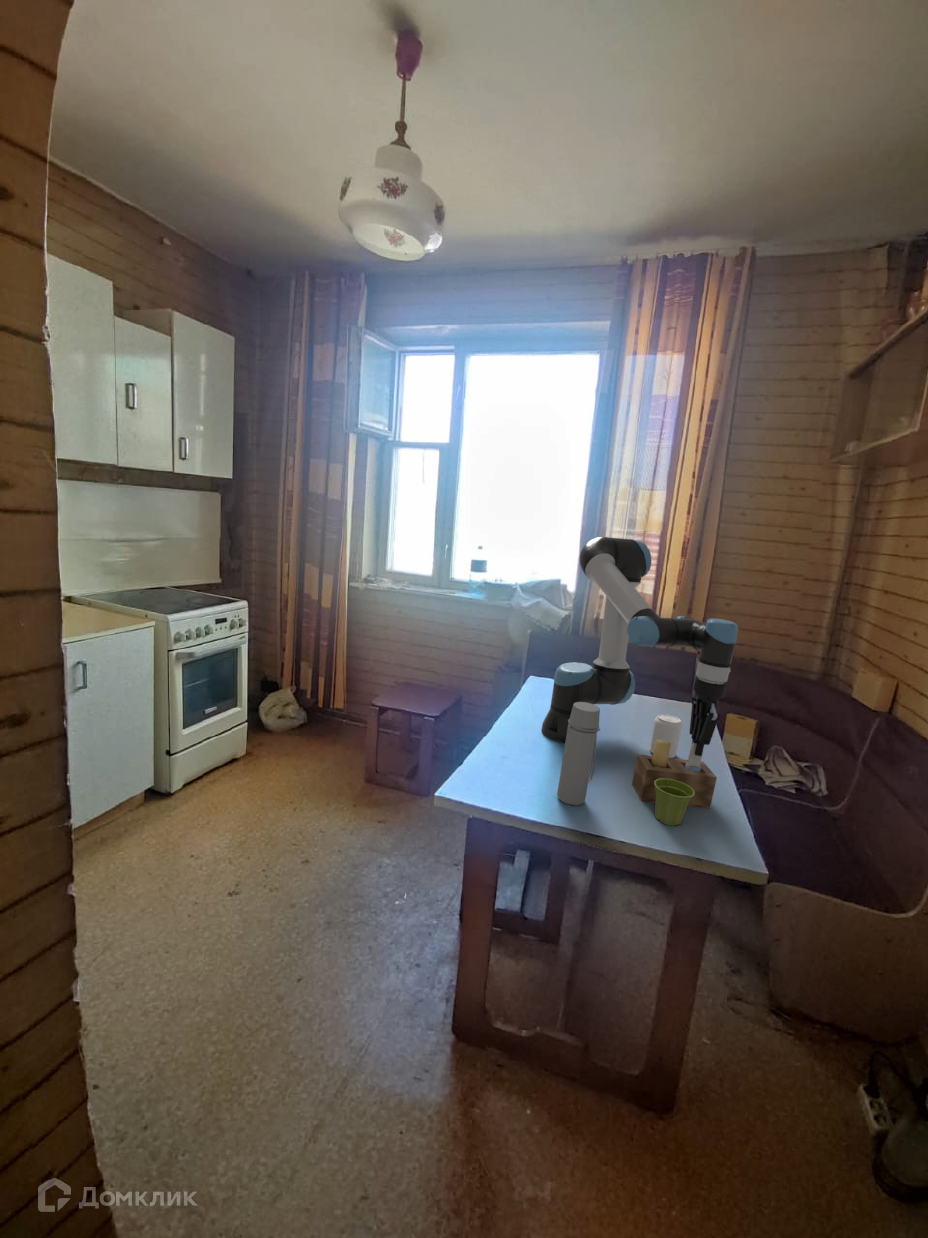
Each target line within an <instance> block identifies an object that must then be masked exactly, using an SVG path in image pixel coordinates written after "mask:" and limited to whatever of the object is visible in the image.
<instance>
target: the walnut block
mask: <svg viewBox="0 0 928 1238" xmlns="http://www.w3.org/2000/svg"><path fill="white" fill-rule="evenodd" d="M652 757H653V755H647V754H637V755H636V760H635V766H634V769H633V770H634V771H633V776H632V781H631V785H632V787H633V790H634V791H635V793H636V794H637V796H638V798H639V800H640V802H642V803H643V802H646V803H652V804H653V803H654V804H656V790H655V785H654V781H655V780H657V779H660V778H668V779H673V780H677V781H680V782H683V783H685V784H687V785H689V786H690V787H691V788H692V789H693V790H694V791H695V795H694V796H693V797H692V798H691V800H690V801H689V803H688V806H687V808H697V809H707V810H710V809H711V806H712V801H713V796H714V793H715V792H714V791H715V788H716V783H717V776H716V775H715V774H714V772H713V771H712V770H711V769H710V767H708V765H707V764H706V763H705V762H704V761H701V763H700V766H701V770H700V772H695V771H687V770H686V769H685V765H686V763H687V762H688V759H682V758H676V757H673V758H668V761H667V766H666V768H660V767H652V765H651V762H652Z"/></svg>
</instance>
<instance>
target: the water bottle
mask: <svg viewBox="0 0 928 1238" xmlns="http://www.w3.org/2000/svg"><path fill="white" fill-rule="evenodd" d="M600 709H601V708H600V707H599V706H598V705H597V704H590V703H586V702H576V703H574V704H573V708H572V711H571V715H570V719H569V720H568V723H569V725H568V729H567V735H566V742H564V748H563V749H564V750H563V755H562V762H561V768H560V776H559V781H558V787H557V793H556V795H557V797H558V799H559V800H560V801H562V802H563V803H565V804H567V805H571V806H580V805H582V804H584V803H585V801H586V797H587V792H588V785H589V782H590V781H592V780H593V777H594V773H595V766H596V765H595V764H596V750H597V749H596V748H597V737H598V736H597V734H598V732H600V730H601V727H600V715H601V711H600Z"/></svg>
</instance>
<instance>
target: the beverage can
mask: <svg viewBox="0 0 928 1238" xmlns="http://www.w3.org/2000/svg"><path fill="white" fill-rule="evenodd" d="M654 718H655V719H654V722H653V728H652V731H651V732H652V734H651V738H650V743H649V749H648V750H649V752H651V753H652V754H653V752H654V747H655V741H656V740H657V739H662V740H666V741H668V742H670V743H671V746H670V751H669V756H668V758H676V756H677V752H678V747H679V743H680V738H681V732H682V728H683V724H682V720H681V719H680V718H679V717H677V716H675V715H672V714H668V713H659V714H657V716H656V717H654Z"/></svg>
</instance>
